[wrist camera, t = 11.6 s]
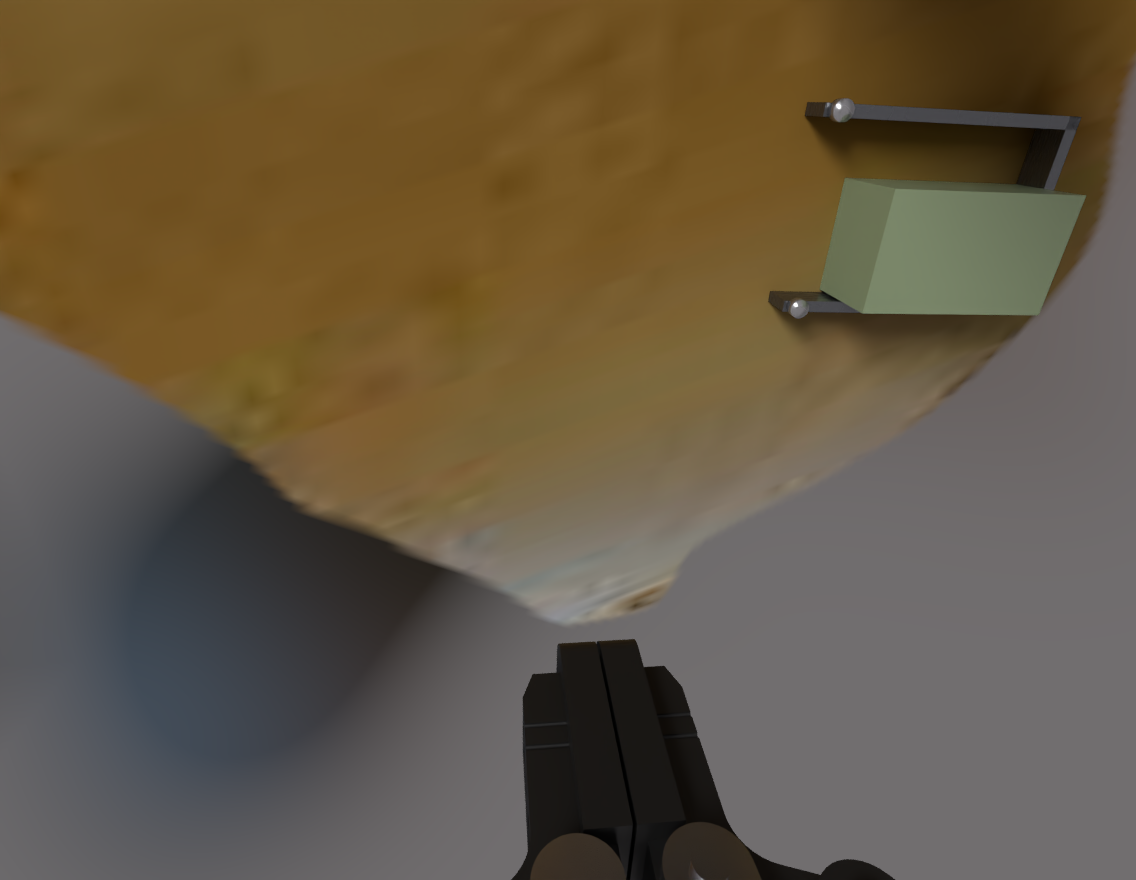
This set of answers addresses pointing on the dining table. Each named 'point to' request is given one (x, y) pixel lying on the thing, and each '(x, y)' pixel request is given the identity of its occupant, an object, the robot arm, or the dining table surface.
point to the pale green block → (947, 246)
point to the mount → (1041, 155)
